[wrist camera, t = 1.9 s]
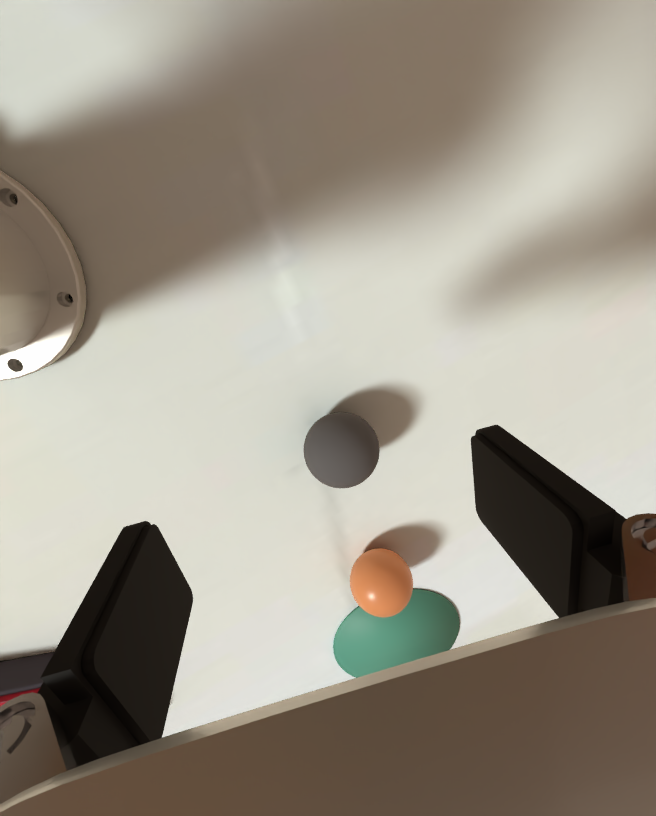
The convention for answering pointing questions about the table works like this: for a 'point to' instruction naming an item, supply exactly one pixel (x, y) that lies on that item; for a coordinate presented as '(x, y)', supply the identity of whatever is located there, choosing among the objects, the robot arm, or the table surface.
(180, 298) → the table surface
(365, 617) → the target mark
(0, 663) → the calculator
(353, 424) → the ball
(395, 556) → the ball
